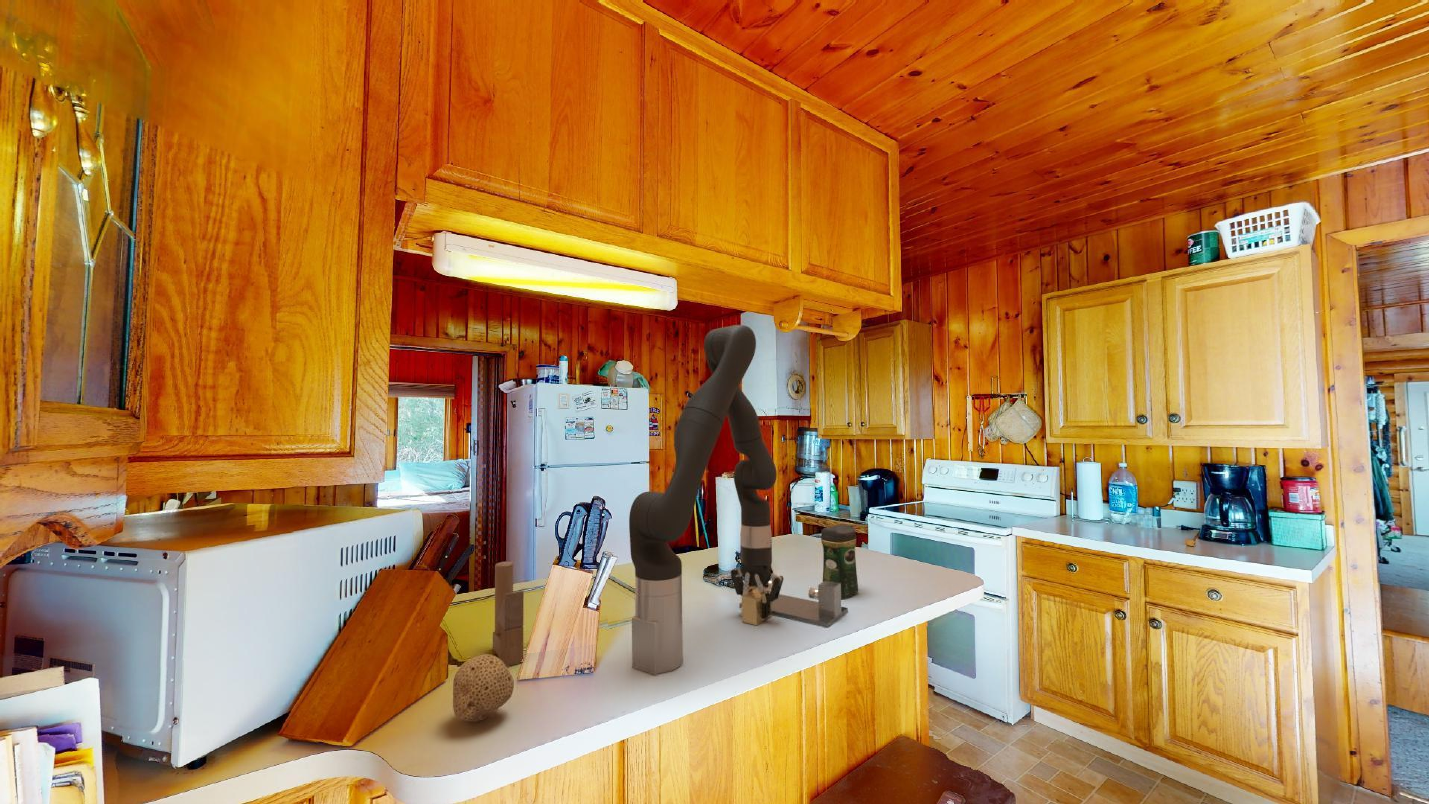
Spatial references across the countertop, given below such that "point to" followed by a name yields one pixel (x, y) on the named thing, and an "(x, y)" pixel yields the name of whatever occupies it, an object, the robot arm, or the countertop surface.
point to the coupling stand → (811, 605)
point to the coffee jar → (840, 557)
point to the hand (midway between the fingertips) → (757, 615)
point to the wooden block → (508, 616)
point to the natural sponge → (481, 687)
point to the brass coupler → (753, 608)
